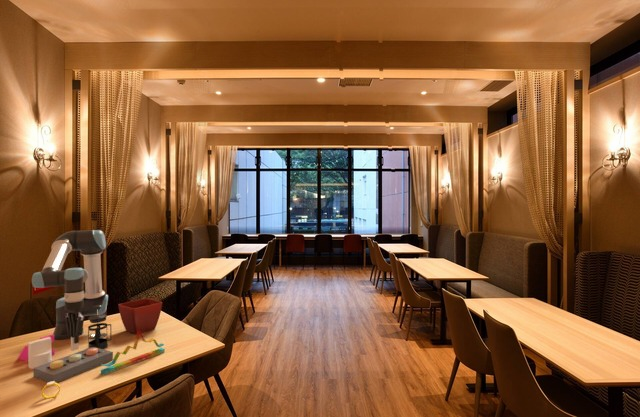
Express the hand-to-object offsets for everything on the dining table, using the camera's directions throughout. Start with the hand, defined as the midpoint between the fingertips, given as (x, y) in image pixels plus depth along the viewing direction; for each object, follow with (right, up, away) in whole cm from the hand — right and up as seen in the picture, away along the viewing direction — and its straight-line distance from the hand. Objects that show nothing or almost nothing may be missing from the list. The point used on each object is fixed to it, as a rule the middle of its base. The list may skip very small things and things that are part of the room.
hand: (74, 349), depth 171 cm
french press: (-4, -9, +26) cm, 28 cm away
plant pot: (+5, -9, +54) cm, 54 cm away
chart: (+26, -9, +6) cm, 28 cm away
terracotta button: (+3, -6, +8) cm, 10 cm away
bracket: (-30, -10, +14) cm, 34 cm away
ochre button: (-4, -6, -7) cm, 10 cm away
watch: (+8, -9, -26) cm, 29 cm away
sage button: (0, -6, 0) cm, 6 cm away
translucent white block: (-20, -9, +5) cm, 23 cm away
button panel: (0, -9, 0) cm, 9 cm away
